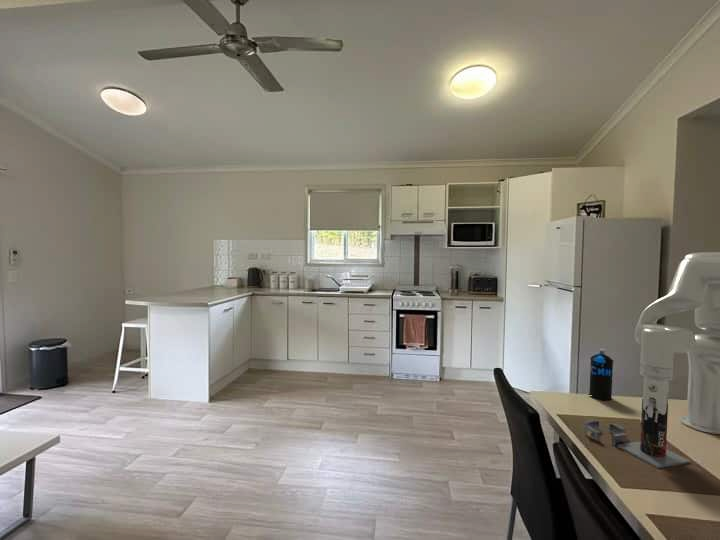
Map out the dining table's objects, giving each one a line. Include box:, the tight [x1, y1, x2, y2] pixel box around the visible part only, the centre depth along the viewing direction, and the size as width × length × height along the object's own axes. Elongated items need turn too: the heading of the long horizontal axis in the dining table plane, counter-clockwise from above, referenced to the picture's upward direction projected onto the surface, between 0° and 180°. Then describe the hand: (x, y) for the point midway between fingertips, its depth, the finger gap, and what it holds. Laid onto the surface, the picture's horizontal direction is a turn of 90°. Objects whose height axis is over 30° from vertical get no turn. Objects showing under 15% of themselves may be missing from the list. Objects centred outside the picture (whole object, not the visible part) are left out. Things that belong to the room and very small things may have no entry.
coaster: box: [616, 441, 691, 469], centre depth 110 cm, size 12×12×1 cm
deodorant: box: [640, 398, 669, 458], centre depth 110 cm, size 6×6×15 cm
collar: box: [584, 419, 628, 447], centre depth 120 cm, size 13×11×3 cm
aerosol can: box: [588, 348, 615, 402], centre depth 155 cm, size 8×8×20 cm
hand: (653, 428), depth 109 cm, fingers open, 9 cm apart
